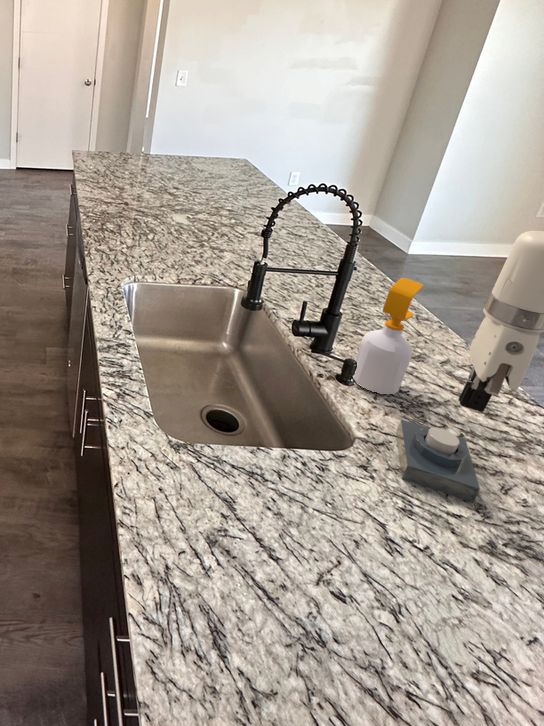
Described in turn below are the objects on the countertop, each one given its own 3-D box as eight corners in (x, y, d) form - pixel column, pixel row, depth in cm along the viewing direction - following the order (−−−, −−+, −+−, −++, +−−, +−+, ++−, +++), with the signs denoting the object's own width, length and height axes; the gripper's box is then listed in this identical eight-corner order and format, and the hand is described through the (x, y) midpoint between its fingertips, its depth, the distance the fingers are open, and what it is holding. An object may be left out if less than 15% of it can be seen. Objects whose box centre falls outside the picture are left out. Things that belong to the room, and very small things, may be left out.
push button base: (459, 451, 98) (468, 430, 96) (472, 503, 88) (484, 480, 86) (395, 432, 103) (403, 411, 101) (401, 479, 92) (410, 457, 90)
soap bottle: (405, 386, 116) (445, 286, 106) (385, 401, 111) (424, 297, 101) (363, 365, 122) (396, 268, 112) (342, 378, 117) (375, 279, 107)
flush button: (453, 441, 94) (457, 432, 93) (457, 458, 91) (461, 449, 90) (423, 432, 96) (427, 424, 95) (426, 448, 93) (430, 439, 92)
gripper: (565, 343, 74) (509, 443, 81) (534, 297, 86) (488, 388, 94) (498, 327, 77) (450, 425, 85) (477, 285, 89) (437, 374, 97)
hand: (470, 405), depth 89 cm, fingers closed
